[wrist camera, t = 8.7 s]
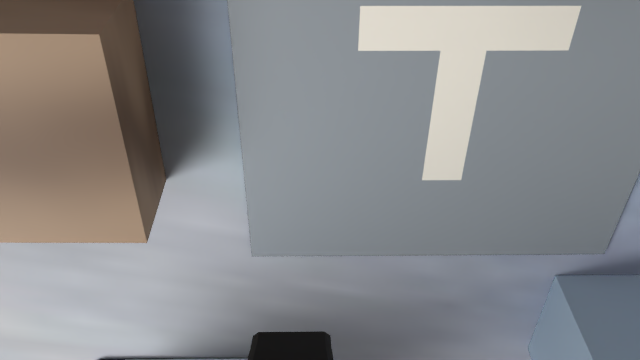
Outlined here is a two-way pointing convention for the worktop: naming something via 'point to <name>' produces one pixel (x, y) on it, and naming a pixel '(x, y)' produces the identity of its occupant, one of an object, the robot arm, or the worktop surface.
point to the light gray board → (436, 124)
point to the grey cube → (589, 319)
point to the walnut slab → (76, 124)
